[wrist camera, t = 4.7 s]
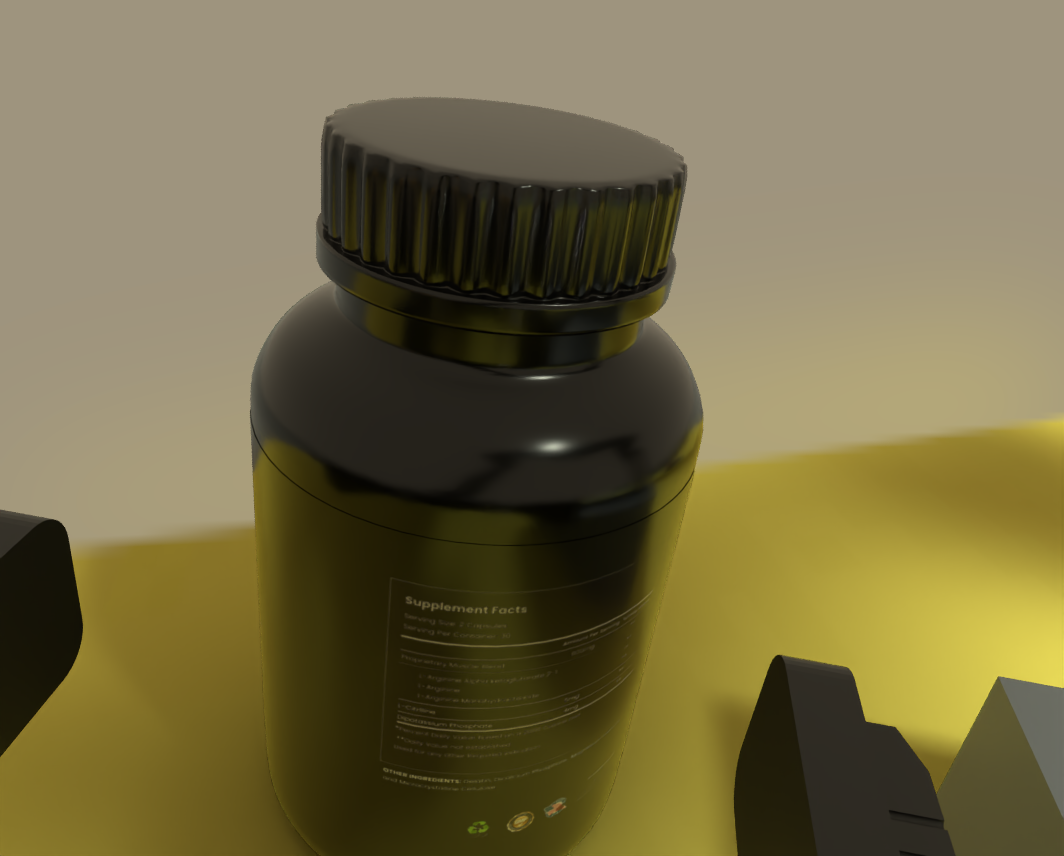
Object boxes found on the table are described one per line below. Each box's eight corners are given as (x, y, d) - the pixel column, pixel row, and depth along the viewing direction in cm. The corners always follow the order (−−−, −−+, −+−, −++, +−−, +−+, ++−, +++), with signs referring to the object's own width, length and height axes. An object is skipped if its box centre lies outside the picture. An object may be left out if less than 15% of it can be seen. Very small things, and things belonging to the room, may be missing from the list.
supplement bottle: (240, 665, 19) (209, 65, 13) (532, 608, 22) (615, 92, 16) (301, 981, 13) (295, 205, 8) (679, 852, 16) (888, 208, 10)
